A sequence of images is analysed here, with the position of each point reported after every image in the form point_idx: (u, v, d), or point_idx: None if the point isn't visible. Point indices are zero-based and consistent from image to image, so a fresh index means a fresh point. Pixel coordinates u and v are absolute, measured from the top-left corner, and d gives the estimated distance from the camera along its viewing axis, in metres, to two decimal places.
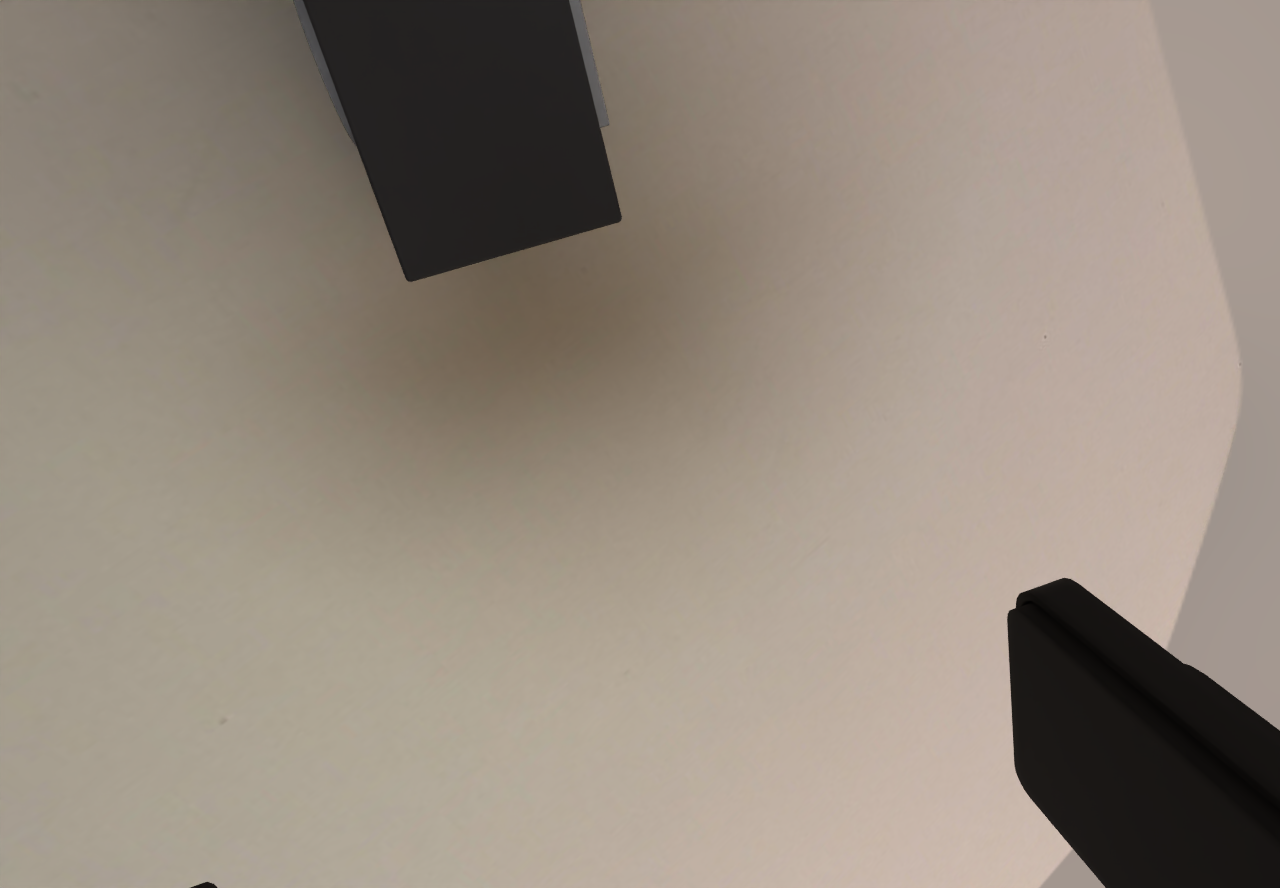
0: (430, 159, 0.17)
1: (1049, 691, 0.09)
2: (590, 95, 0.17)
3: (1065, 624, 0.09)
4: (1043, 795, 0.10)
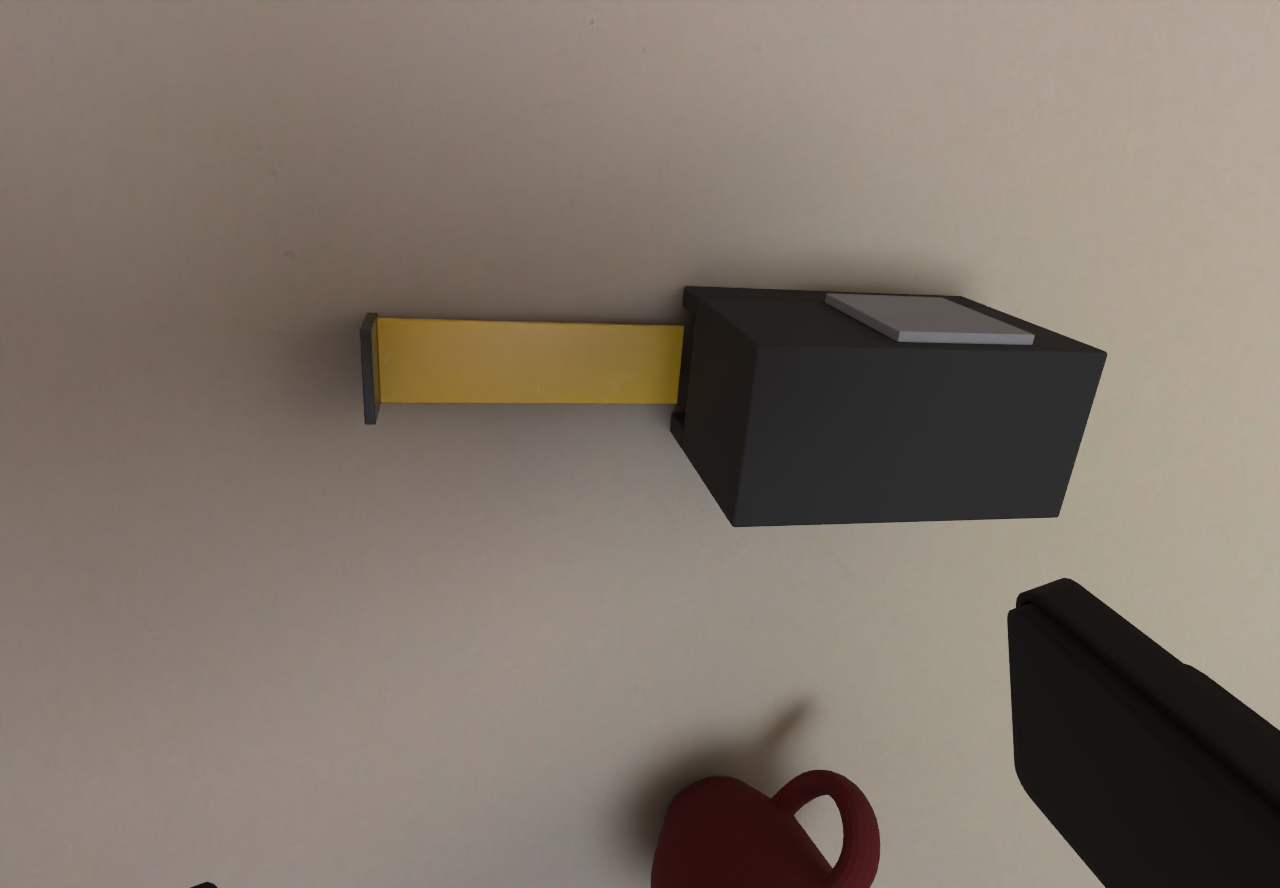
0: (1000, 477, 0.23)
1: (1049, 691, 0.09)
2: (1020, 352, 0.21)
3: (1065, 624, 0.09)
4: (1043, 796, 0.10)
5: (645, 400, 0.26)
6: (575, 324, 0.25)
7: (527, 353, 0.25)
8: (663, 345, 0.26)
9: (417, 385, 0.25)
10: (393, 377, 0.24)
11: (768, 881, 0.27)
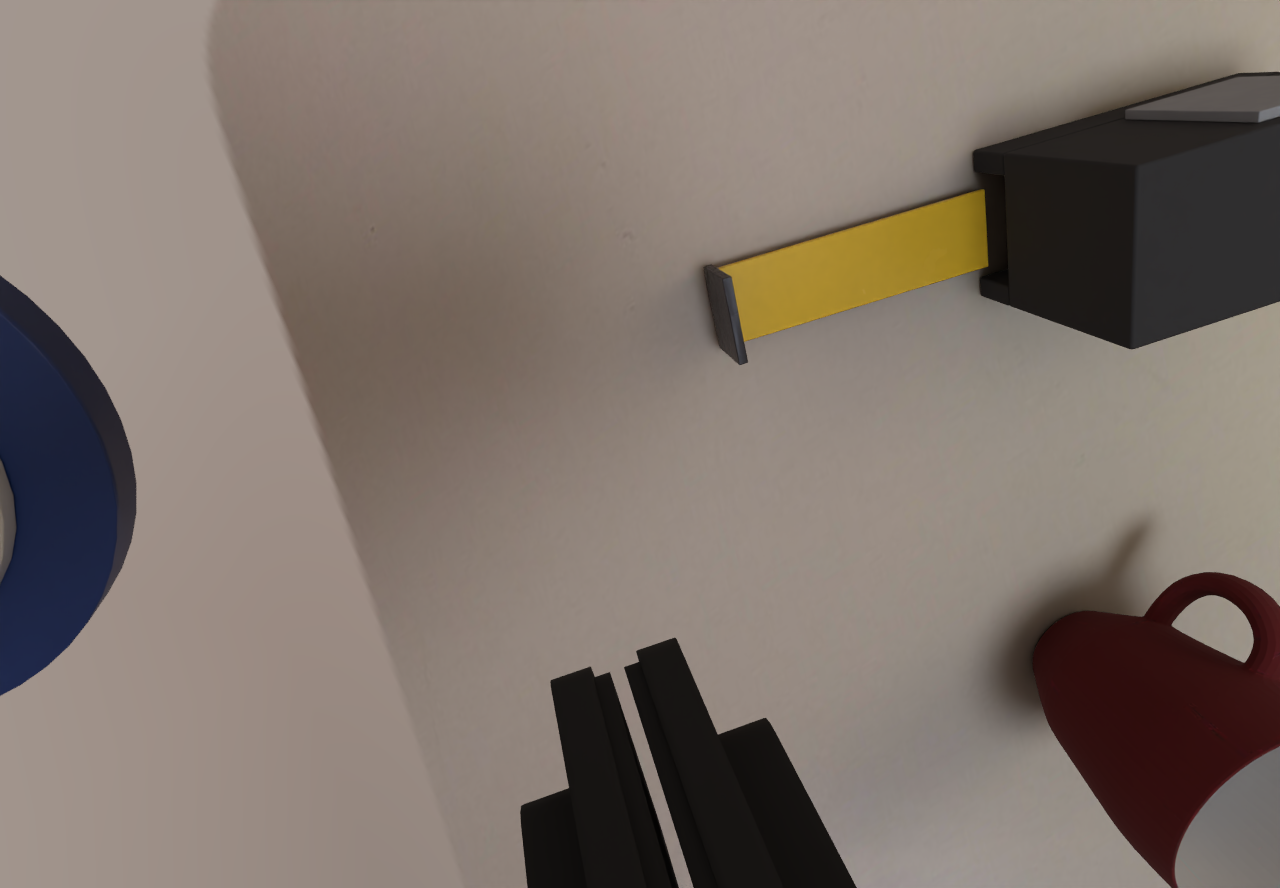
0: None
1: None
2: None
3: (649, 684, 0.09)
4: None
5: (959, 271, 0.27)
6: (886, 219, 0.26)
7: (849, 260, 0.26)
8: (968, 213, 0.27)
9: (759, 320, 0.26)
10: None
11: (1192, 681, 0.29)
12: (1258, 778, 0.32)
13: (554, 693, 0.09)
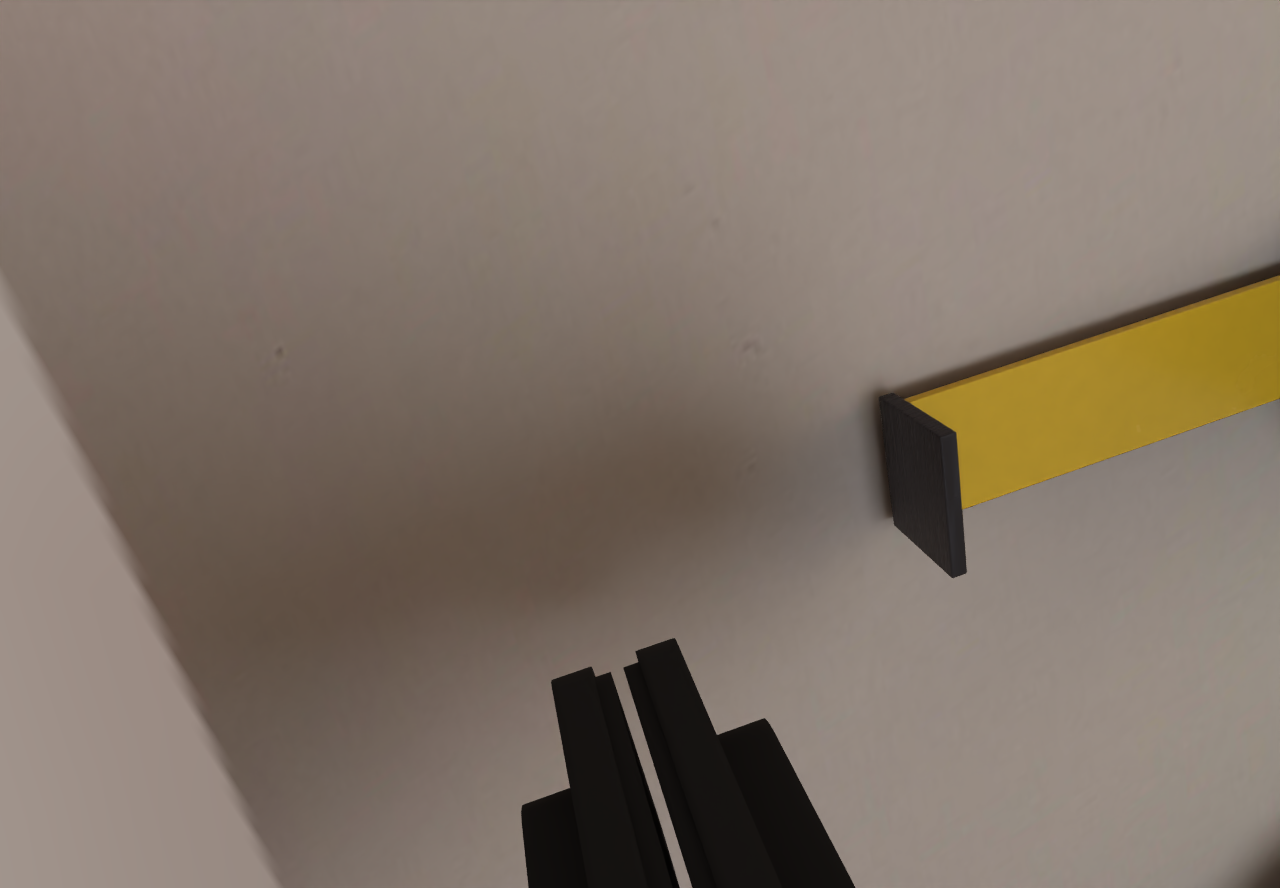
0: None
1: None
2: None
3: (648, 685, 0.09)
4: None
5: None
6: (1190, 309, 0.15)
7: (1122, 379, 0.15)
8: None
9: (967, 483, 0.15)
10: None
11: None
12: None
13: (555, 693, 0.09)
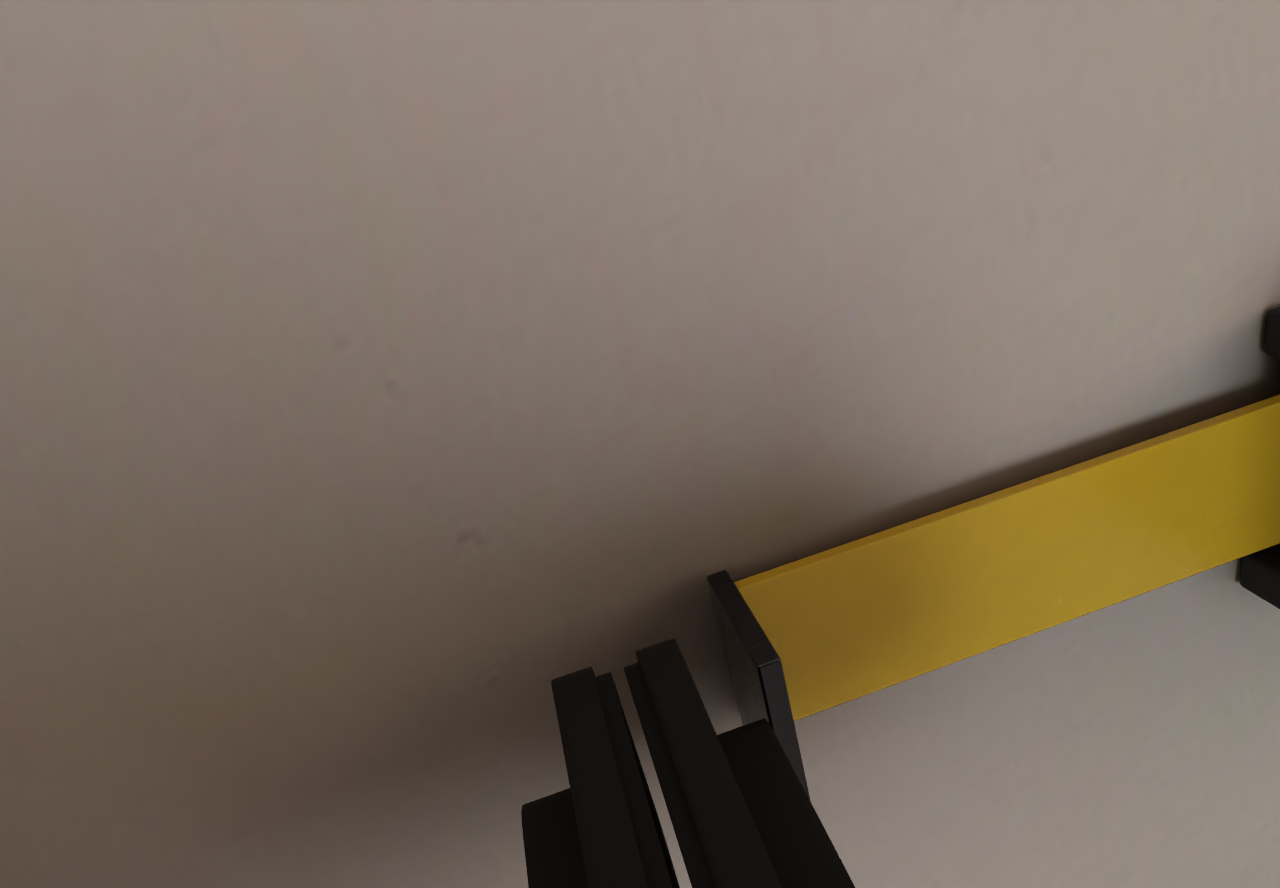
0: None
1: None
2: None
3: (648, 685, 0.09)
4: None
5: (1257, 545, 0.13)
6: (1124, 455, 0.11)
7: (1035, 544, 0.12)
8: None
9: (833, 677, 0.12)
10: (786, 678, 0.12)
11: None
12: None
13: (555, 693, 0.09)
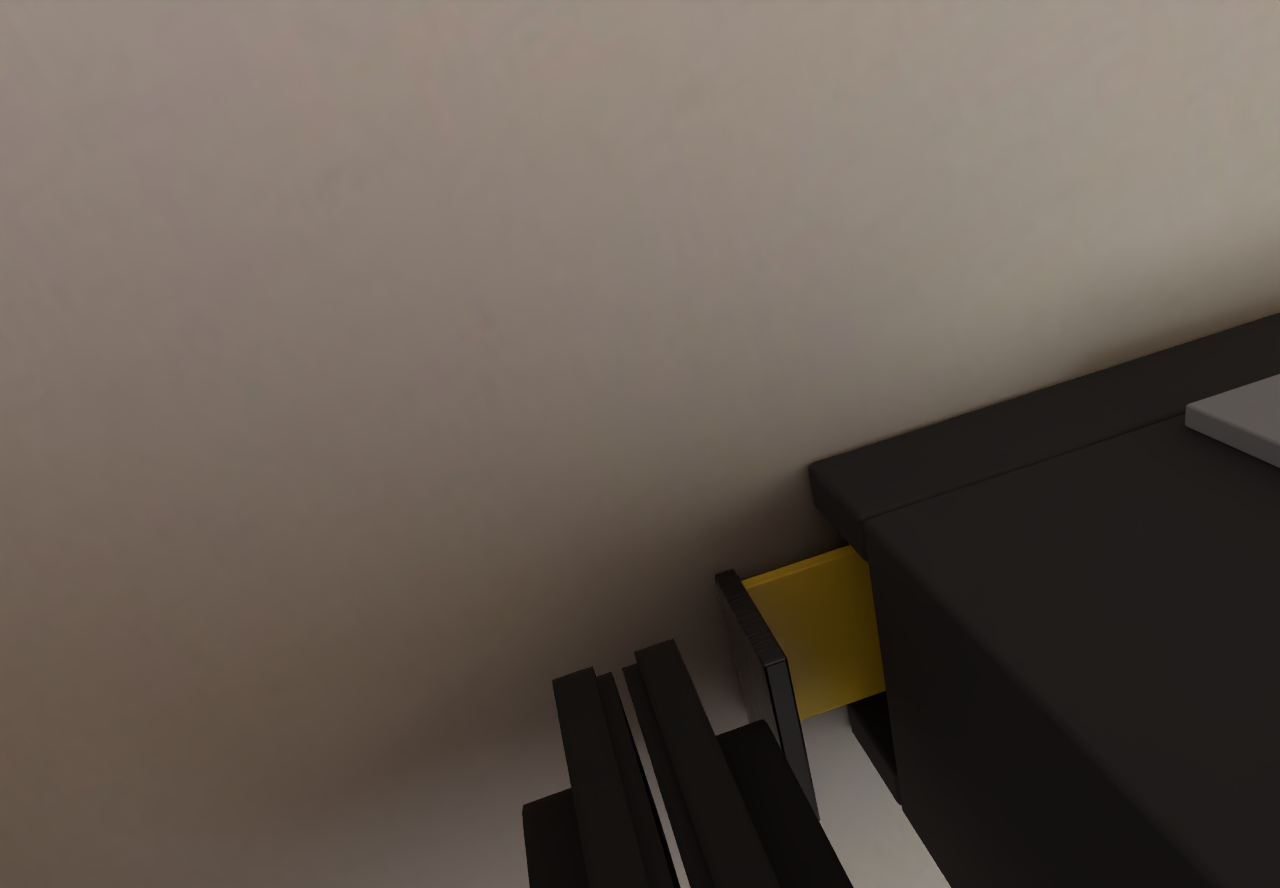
0: None
1: None
2: None
3: (647, 685, 0.09)
4: None
5: None
6: None
7: None
8: None
9: (839, 676, 0.12)
10: (793, 678, 0.12)
11: None
12: None
13: (556, 693, 0.09)
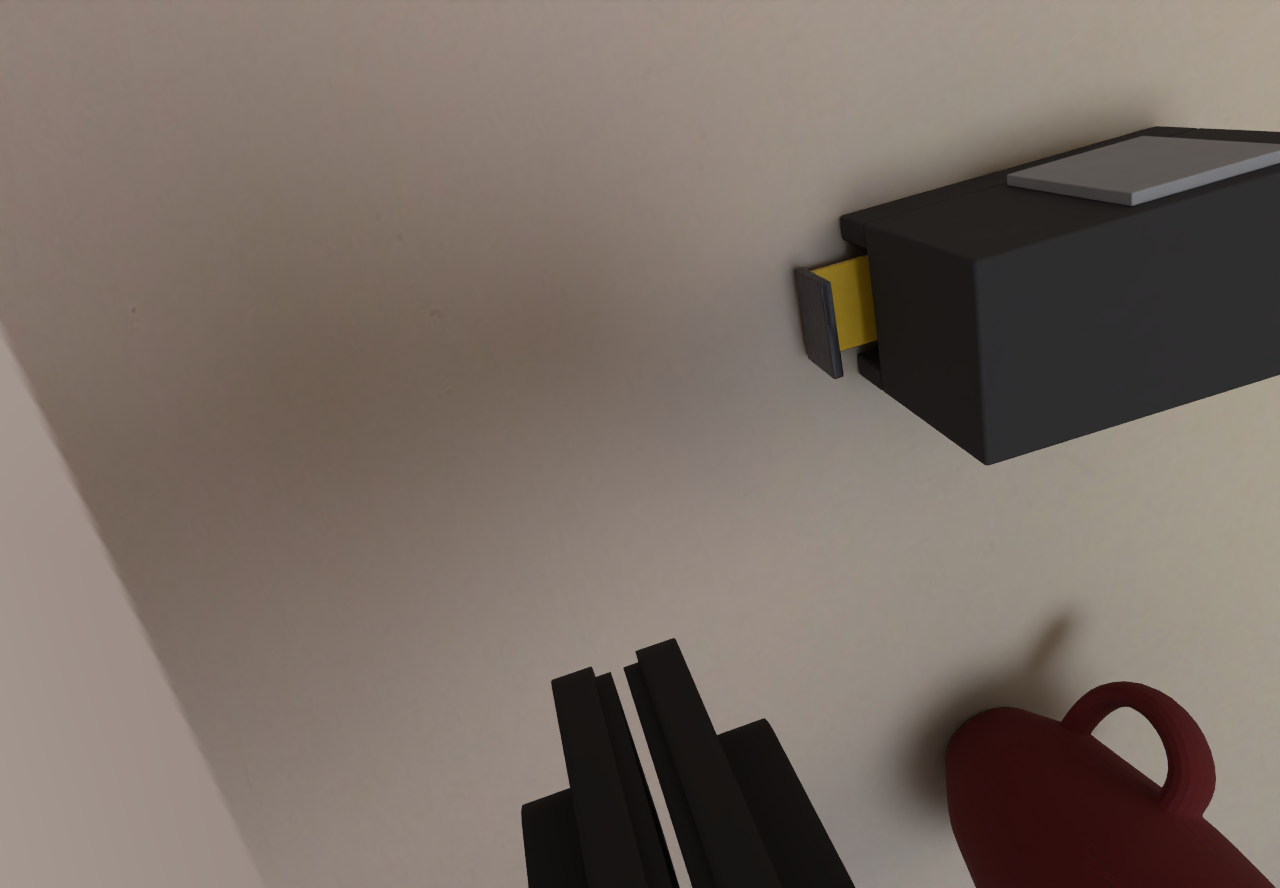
0: None
1: None
2: None
3: (648, 685, 0.09)
4: None
5: None
6: None
7: None
8: None
9: (853, 329, 0.24)
10: None
11: (1095, 814, 0.25)
12: None
13: (555, 693, 0.09)
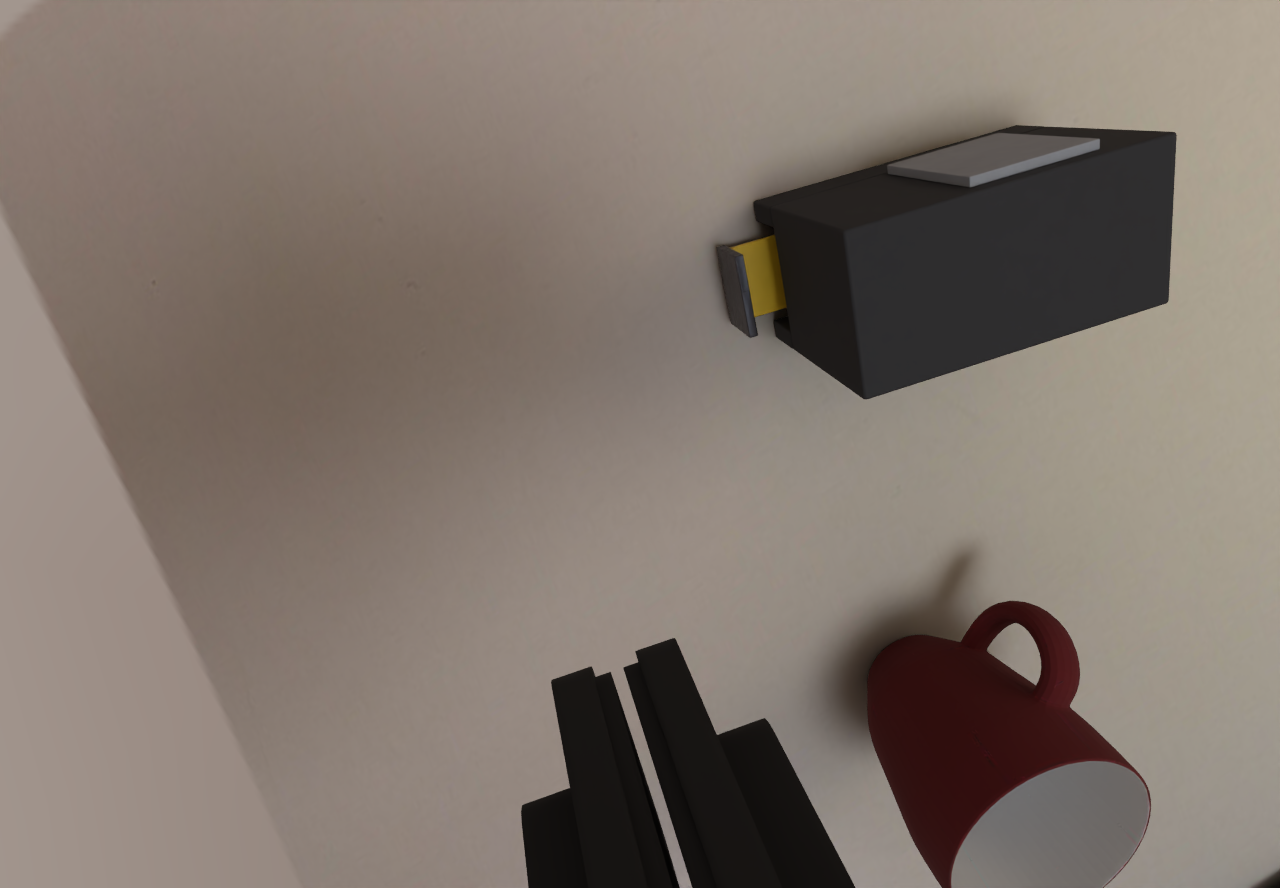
0: (1101, 281, 0.24)
1: None
2: (1090, 159, 0.22)
3: (648, 685, 0.09)
4: None
5: None
6: None
7: None
8: None
9: (768, 297, 0.28)
10: None
11: (981, 708, 0.30)
12: (1062, 799, 0.33)
13: (555, 693, 0.09)
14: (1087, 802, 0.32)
